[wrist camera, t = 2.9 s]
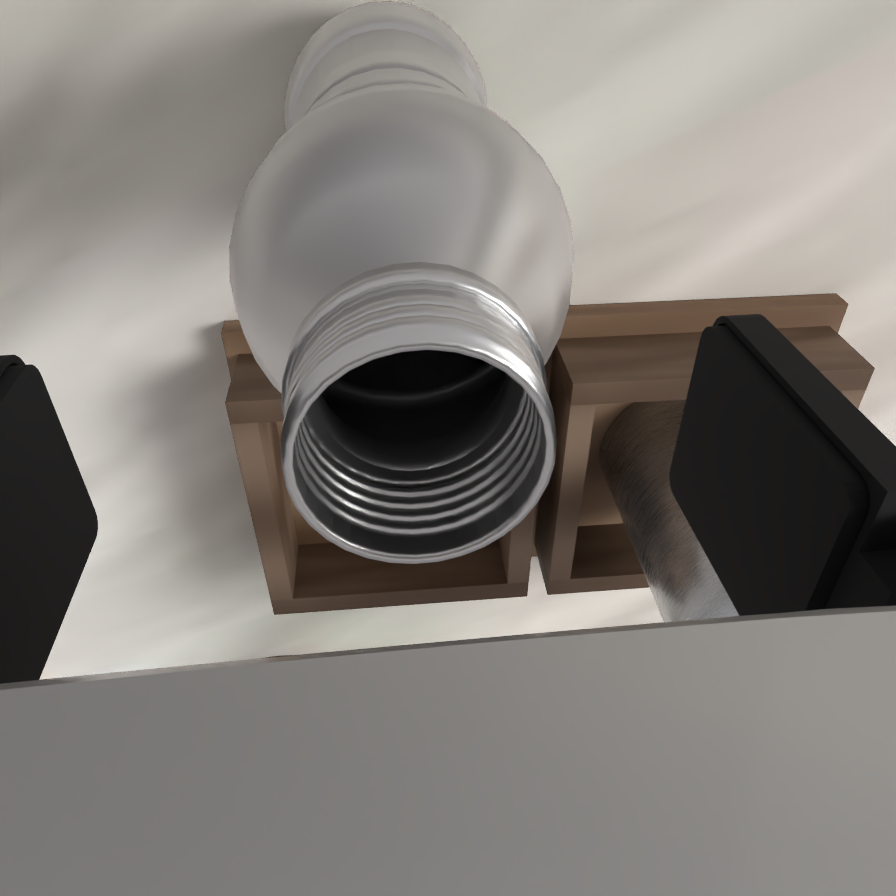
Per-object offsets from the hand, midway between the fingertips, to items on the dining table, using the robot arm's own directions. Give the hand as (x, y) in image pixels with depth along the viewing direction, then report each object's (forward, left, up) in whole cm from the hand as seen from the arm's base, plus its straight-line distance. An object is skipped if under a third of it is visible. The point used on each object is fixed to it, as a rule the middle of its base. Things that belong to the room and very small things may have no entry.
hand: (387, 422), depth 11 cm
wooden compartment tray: (+15, +6, -19) cm, 24 cm away
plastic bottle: (0, 0, -19) cm, 19 cm away
